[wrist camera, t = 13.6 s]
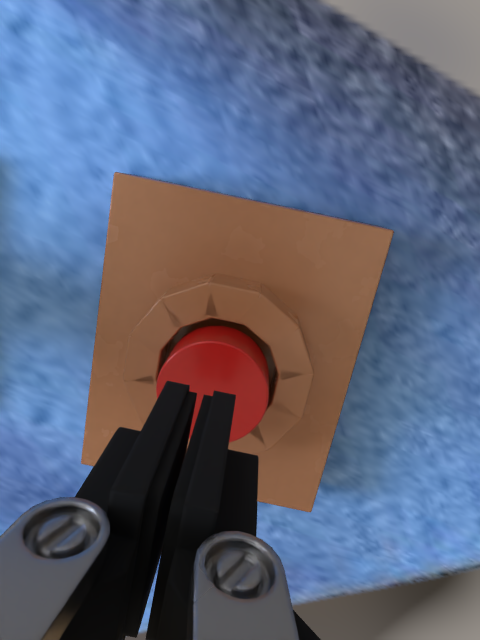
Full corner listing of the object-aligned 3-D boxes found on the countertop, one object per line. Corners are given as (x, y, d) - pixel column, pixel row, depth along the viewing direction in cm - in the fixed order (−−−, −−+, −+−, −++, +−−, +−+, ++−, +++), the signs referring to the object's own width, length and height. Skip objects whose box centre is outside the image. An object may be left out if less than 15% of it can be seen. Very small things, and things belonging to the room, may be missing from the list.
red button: (176, 315, 15) (164, 330, 14) (279, 336, 15) (280, 354, 13) (160, 408, 16) (148, 432, 15) (256, 428, 16) (255, 455, 14)
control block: (132, 174, 18) (93, 168, 14) (379, 226, 17) (410, 235, 14) (99, 437, 21) (61, 491, 17) (307, 481, 21) (315, 545, 17)
